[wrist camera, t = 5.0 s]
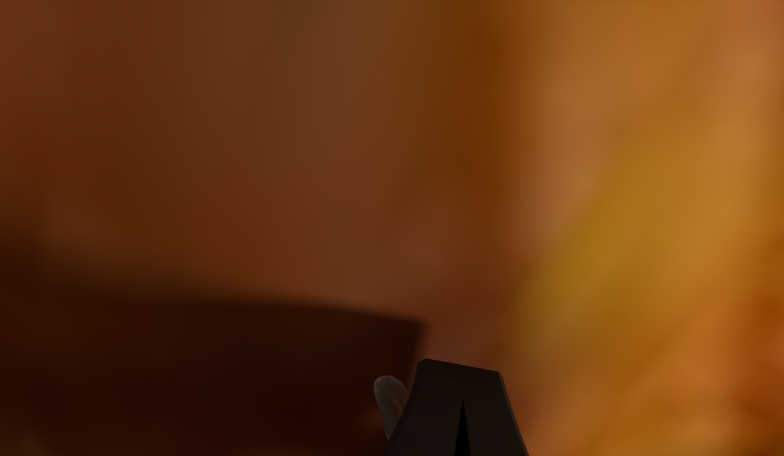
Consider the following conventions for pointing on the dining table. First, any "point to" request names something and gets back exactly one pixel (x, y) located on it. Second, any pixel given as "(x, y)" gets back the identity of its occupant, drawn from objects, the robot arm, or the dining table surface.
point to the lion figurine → (390, 401)
